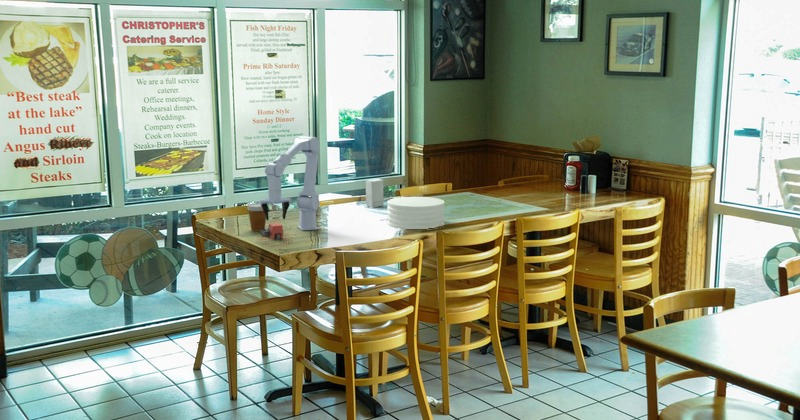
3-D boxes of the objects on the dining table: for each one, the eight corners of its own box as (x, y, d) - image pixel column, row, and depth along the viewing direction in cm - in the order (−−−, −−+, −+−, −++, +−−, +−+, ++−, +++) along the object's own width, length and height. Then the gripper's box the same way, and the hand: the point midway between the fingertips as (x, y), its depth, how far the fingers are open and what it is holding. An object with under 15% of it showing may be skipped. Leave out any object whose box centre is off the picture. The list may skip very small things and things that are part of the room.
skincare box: (377, 204, 465) (377, 178, 462) (384, 206, 460) (384, 179, 457) (365, 206, 459) (365, 179, 457) (371, 208, 455) (371, 181, 452)
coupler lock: (269, 236, 385) (268, 223, 383) (279, 235, 386) (278, 222, 385) (272, 239, 378) (272, 226, 377) (282, 238, 380) (282, 225, 379)
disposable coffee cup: (253, 232, 392) (252, 207, 389) (244, 229, 399) (243, 204, 397) (271, 230, 397) (271, 205, 395) (262, 227, 405) (261, 202, 402)
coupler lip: (261, 233, 390) (260, 227, 390) (280, 231, 394) (279, 226, 393) (268, 240, 377) (268, 233, 376) (288, 238, 380) (287, 232, 379)
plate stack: (451, 221, 421) (451, 198, 419) (434, 232, 396) (434, 208, 393) (398, 217, 431) (398, 195, 429) (379, 227, 405) (379, 204, 403)
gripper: (260, 192, 372) (261, 222, 375) (292, 190, 377) (293, 219, 380) (257, 189, 378) (258, 219, 381) (288, 187, 384) (289, 216, 386)
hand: (275, 219), depth 381 cm, fingers open, 7 cm apart
